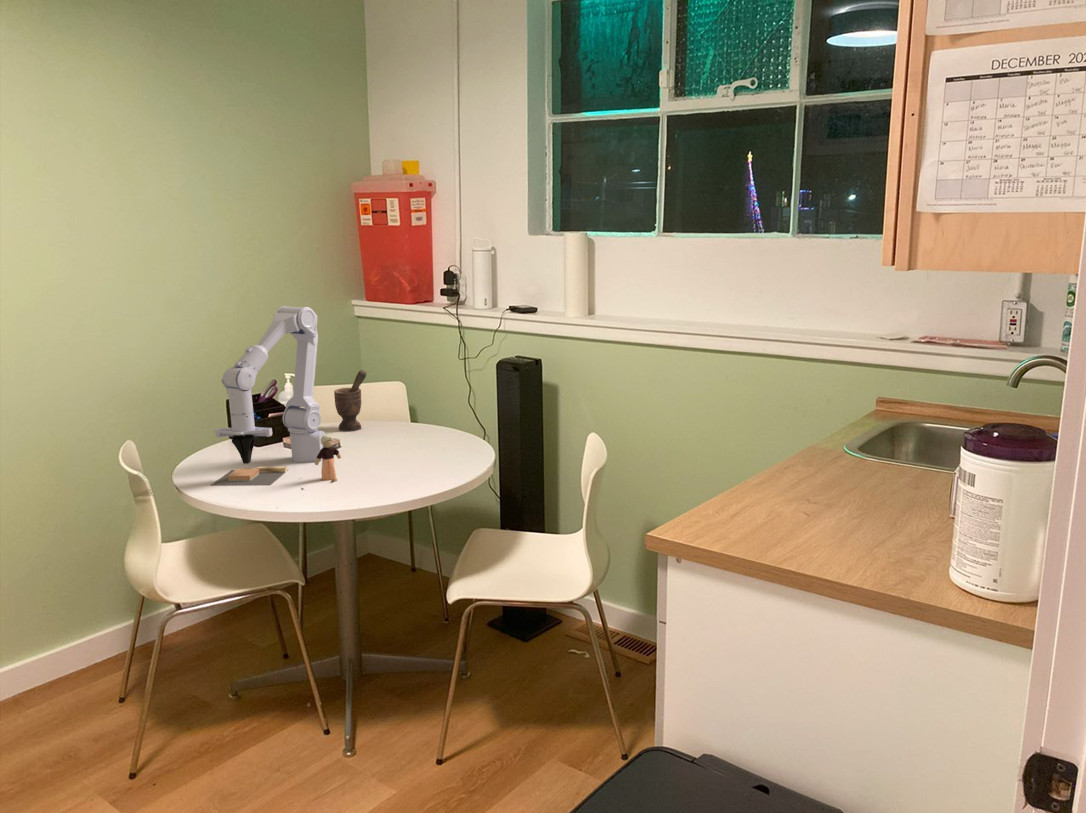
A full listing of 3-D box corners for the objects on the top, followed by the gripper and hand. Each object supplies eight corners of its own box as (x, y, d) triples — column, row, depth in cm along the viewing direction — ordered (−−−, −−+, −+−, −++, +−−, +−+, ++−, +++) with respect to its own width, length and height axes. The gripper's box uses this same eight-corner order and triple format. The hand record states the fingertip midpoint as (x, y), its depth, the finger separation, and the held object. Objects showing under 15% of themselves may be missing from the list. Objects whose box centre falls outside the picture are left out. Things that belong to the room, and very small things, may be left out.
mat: (289, 472, 238) (288, 469, 238) (270, 488, 224) (270, 485, 224) (232, 472, 239) (231, 470, 239) (210, 488, 225) (209, 485, 225)
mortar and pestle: (375, 425, 289) (371, 366, 285) (368, 432, 281) (364, 371, 277) (341, 426, 290) (336, 367, 286) (333, 432, 282) (328, 371, 277)
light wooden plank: (288, 469, 238) (288, 465, 237) (284, 473, 235) (284, 468, 234) (238, 470, 238) (237, 466, 238) (234, 473, 235) (233, 469, 235)
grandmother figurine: (325, 485, 225) (321, 438, 222) (314, 483, 227) (310, 436, 224) (346, 478, 231) (342, 431, 229) (335, 476, 234) (332, 430, 231)
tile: (258, 469, 234) (236, 469, 234) (250, 475, 228) (227, 475, 229) (259, 474, 234) (237, 474, 235) (250, 480, 228) (228, 480, 229)
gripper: (208, 416, 224) (213, 467, 227) (263, 415, 223) (268, 466, 226) (219, 410, 231) (225, 459, 234) (273, 409, 230) (277, 459, 233)
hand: (247, 462), depth 231 cm, fingers closed
